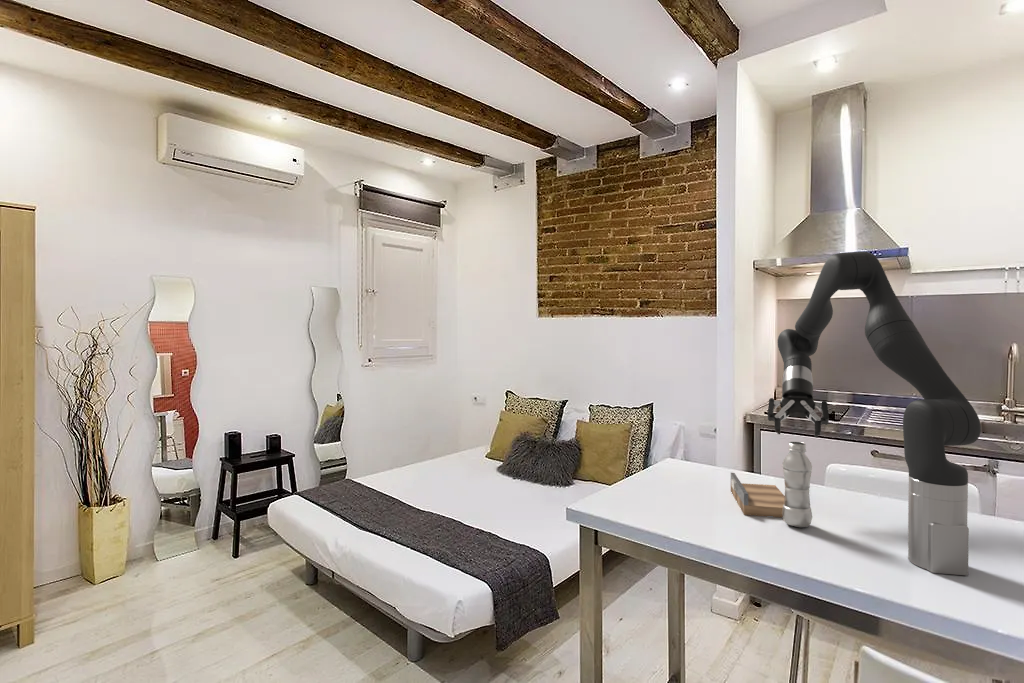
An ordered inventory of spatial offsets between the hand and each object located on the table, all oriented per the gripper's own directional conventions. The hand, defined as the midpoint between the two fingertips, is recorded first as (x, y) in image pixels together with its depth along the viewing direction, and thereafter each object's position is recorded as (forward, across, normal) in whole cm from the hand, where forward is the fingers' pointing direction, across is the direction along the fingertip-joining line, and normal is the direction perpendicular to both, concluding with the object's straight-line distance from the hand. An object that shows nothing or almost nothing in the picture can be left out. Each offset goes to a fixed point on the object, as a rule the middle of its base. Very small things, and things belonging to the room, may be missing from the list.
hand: (797, 434), depth 136 cm
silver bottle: (+22, 0, +7) cm, 23 cm away
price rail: (+12, -14, +13) cm, 23 cm away
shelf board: (+13, -9, +16) cm, 22 cm away
